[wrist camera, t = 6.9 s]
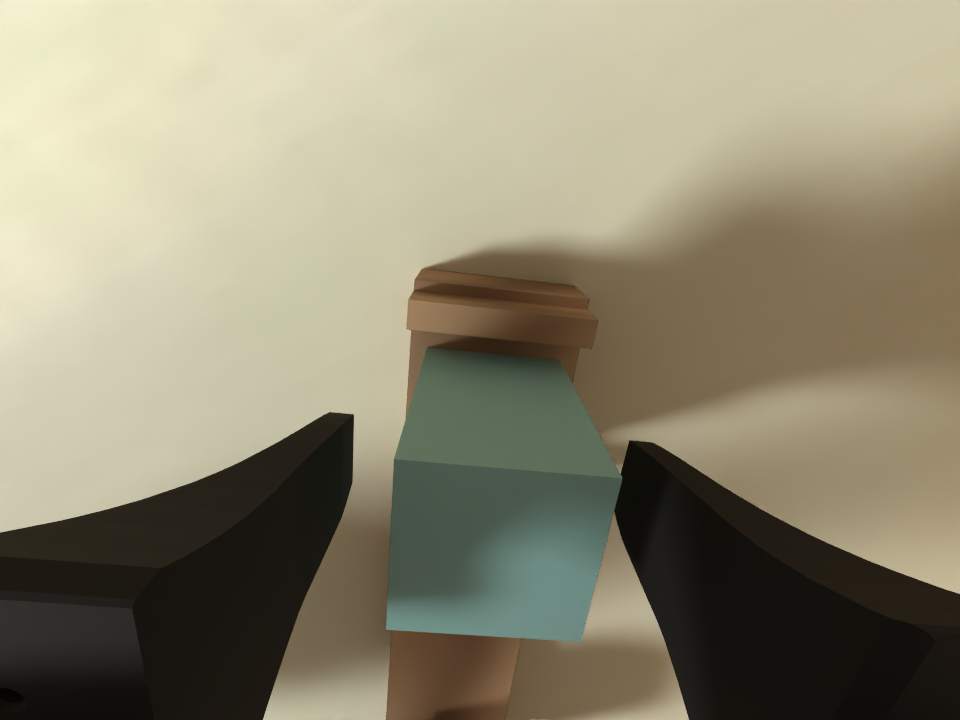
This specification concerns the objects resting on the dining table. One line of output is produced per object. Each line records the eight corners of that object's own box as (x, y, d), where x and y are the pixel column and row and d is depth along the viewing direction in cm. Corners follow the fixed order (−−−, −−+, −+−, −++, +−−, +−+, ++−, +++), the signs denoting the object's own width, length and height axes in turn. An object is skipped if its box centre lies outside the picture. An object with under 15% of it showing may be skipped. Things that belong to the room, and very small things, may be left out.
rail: (388, 746, 23) (347, 1018, 15) (421, 268, 15) (368, 347, 7) (487, 751, 23) (494, 1021, 15) (574, 285, 15) (680, 379, 7)
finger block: (417, 478, 15) (384, 650, 9) (426, 347, 13) (394, 459, 8) (537, 488, 15) (575, 662, 9) (559, 360, 14) (622, 478, 8)
